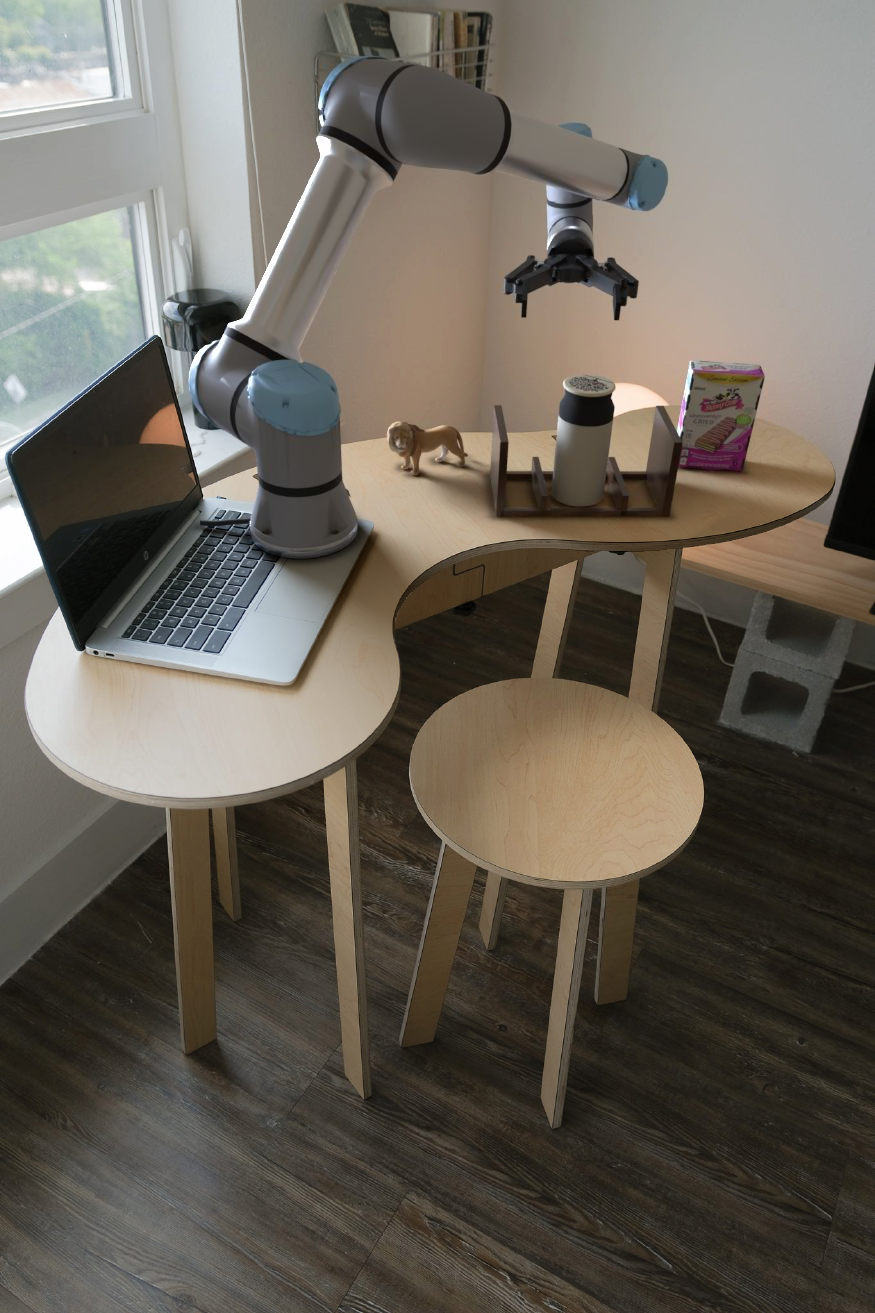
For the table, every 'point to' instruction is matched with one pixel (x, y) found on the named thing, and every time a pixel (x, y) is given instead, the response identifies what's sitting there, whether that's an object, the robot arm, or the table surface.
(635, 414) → the table surface
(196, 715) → the table surface
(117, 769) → the table surface
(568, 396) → the travel mug
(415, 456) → the lion figurine
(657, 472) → the rack
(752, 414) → the candy bar box
